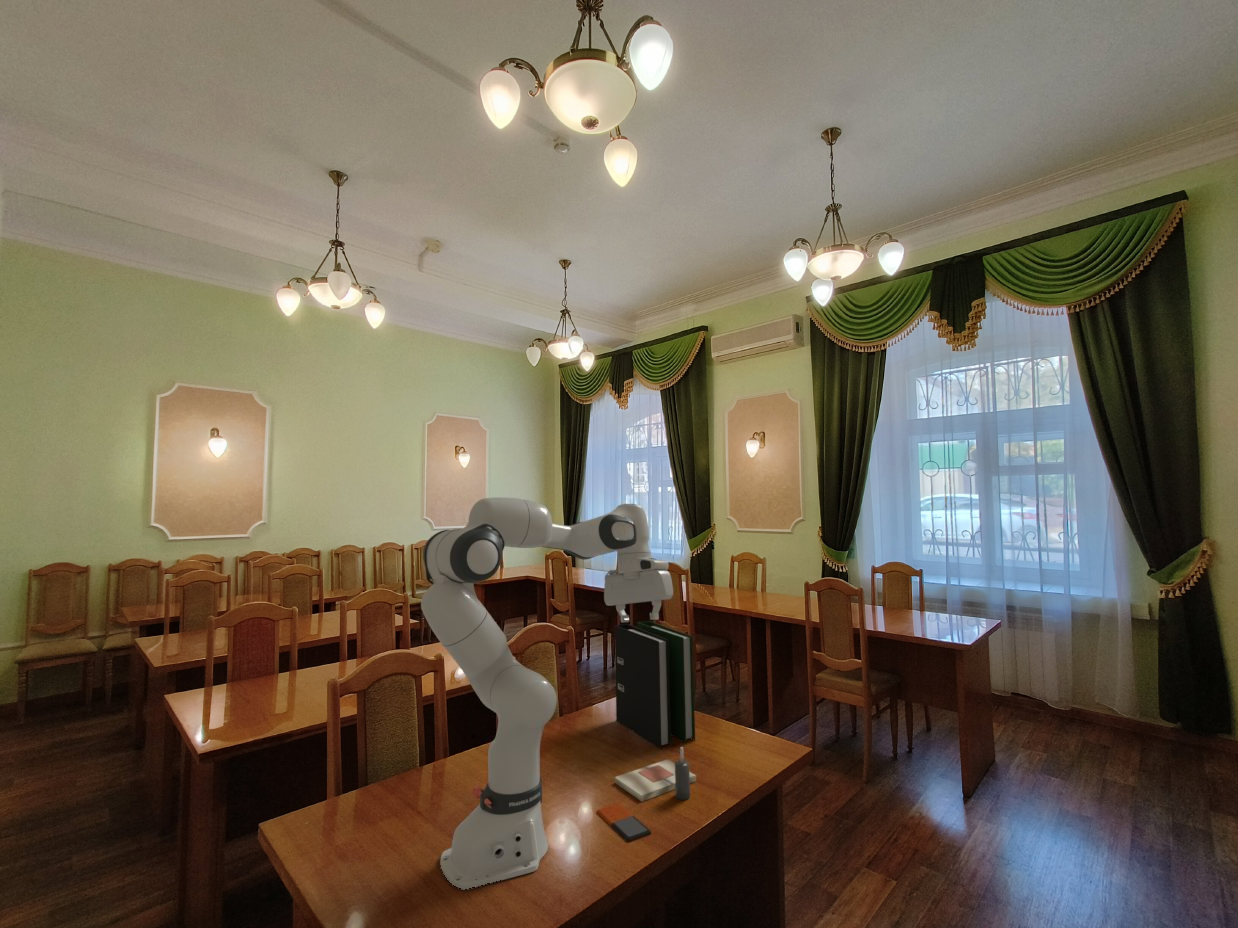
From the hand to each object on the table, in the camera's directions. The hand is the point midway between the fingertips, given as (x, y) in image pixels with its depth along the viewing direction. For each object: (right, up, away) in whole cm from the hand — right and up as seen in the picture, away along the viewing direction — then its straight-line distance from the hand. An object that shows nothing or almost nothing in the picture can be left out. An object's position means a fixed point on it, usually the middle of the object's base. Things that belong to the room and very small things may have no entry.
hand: (639, 621), depth 148 cm
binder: (+6, -47, +42) cm, 63 cm away
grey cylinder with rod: (+11, -44, -1) cm, 46 cm away
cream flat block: (+5, -45, +7) cm, 45 cm away
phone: (-4, -45, -12) cm, 46 cm away
